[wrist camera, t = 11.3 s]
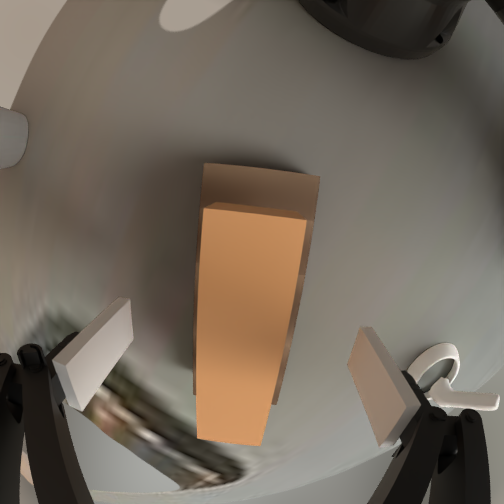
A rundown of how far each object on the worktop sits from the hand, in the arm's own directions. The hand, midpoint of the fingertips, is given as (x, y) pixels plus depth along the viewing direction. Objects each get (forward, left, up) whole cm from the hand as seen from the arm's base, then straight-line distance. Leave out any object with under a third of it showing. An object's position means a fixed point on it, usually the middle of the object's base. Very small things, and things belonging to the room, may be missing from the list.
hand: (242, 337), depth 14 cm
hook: (+8, +21, -7) cm, 24 cm away
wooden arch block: (0, 0, -7) cm, 7 cm away
